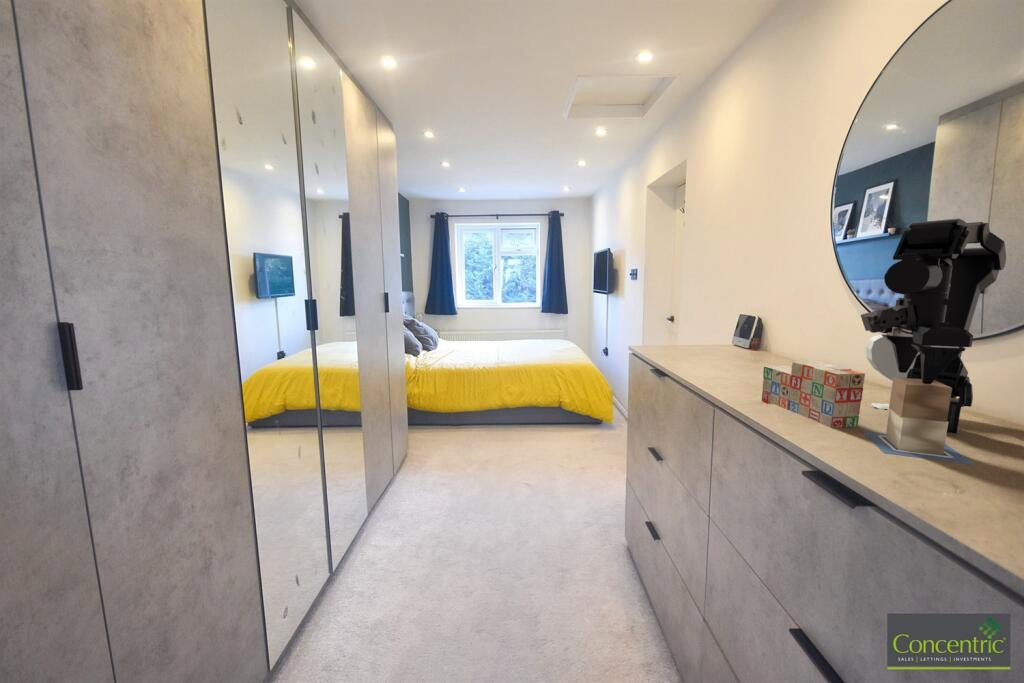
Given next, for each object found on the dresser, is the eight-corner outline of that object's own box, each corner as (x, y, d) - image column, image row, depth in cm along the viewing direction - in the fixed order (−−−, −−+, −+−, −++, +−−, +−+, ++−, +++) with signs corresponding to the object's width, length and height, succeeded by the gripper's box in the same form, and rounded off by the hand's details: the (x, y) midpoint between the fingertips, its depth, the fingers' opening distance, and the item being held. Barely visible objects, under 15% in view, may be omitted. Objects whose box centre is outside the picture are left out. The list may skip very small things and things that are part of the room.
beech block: (926, 442, 78) (931, 411, 77) (943, 455, 73) (948, 421, 72) (885, 437, 81) (889, 407, 80) (898, 449, 75) (903, 417, 74)
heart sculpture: (938, 409, 100) (950, 335, 97) (950, 416, 95) (962, 337, 93) (857, 402, 106) (866, 331, 103) (865, 407, 101) (874, 334, 99)
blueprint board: (938, 442, 80) (939, 439, 80) (976, 468, 69) (977, 464, 69) (860, 433, 85) (860, 430, 84) (883, 456, 74) (884, 452, 74)
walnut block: (931, 412, 77) (935, 380, 76) (946, 422, 72) (952, 388, 71) (889, 407, 80) (893, 377, 79) (901, 417, 74) (905, 384, 74)
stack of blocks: (760, 401, 107) (764, 354, 105) (783, 400, 108) (787, 353, 106) (830, 431, 86) (837, 372, 84) (858, 430, 87) (866, 372, 85)
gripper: (852, 290, 86) (843, 364, 89) (891, 294, 69) (879, 385, 72) (922, 291, 82) (911, 368, 84) (982, 295, 65) (966, 392, 68)
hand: (913, 377), depth 77 cm, fingers open, 9 cm apart
